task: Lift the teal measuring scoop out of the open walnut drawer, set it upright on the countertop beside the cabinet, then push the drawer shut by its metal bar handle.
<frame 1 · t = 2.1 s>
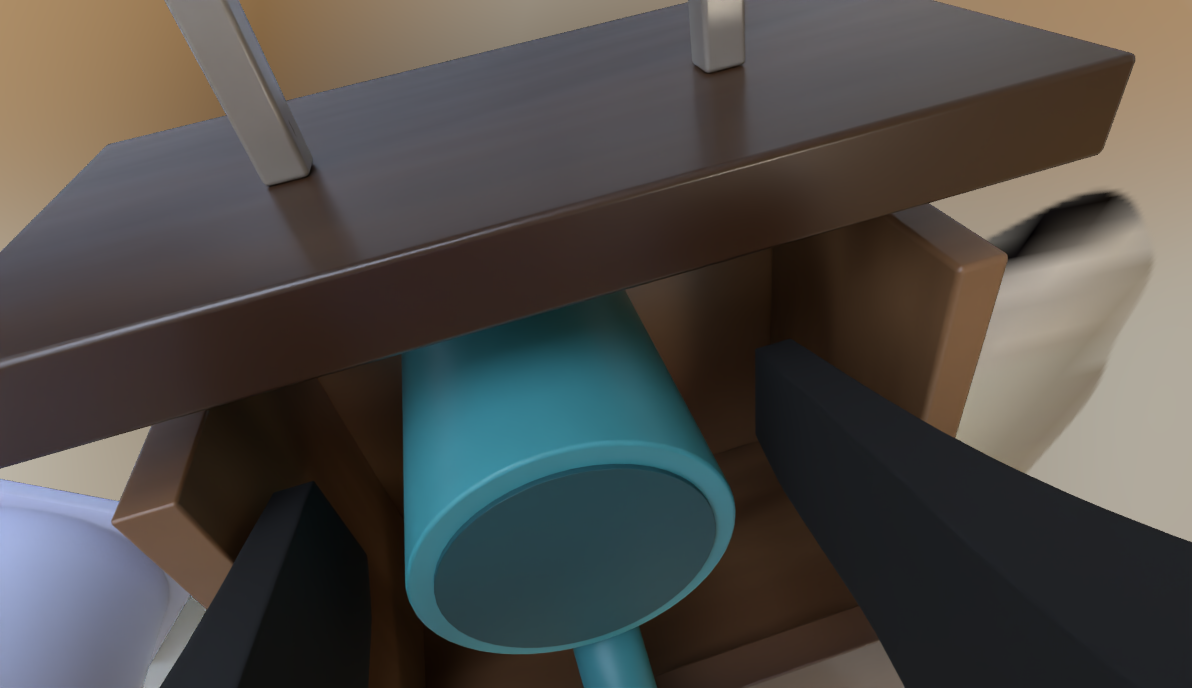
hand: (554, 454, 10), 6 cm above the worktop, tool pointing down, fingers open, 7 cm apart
drawer: (564, 336, 12), point 4 cm above the worktop, slide at 9.3 cm, touching gripper, scoop
scoop: (512, 305, 14), point 2 cm above the worktop, touching drawer
cabinet: (609, 541, 23), on the worktop
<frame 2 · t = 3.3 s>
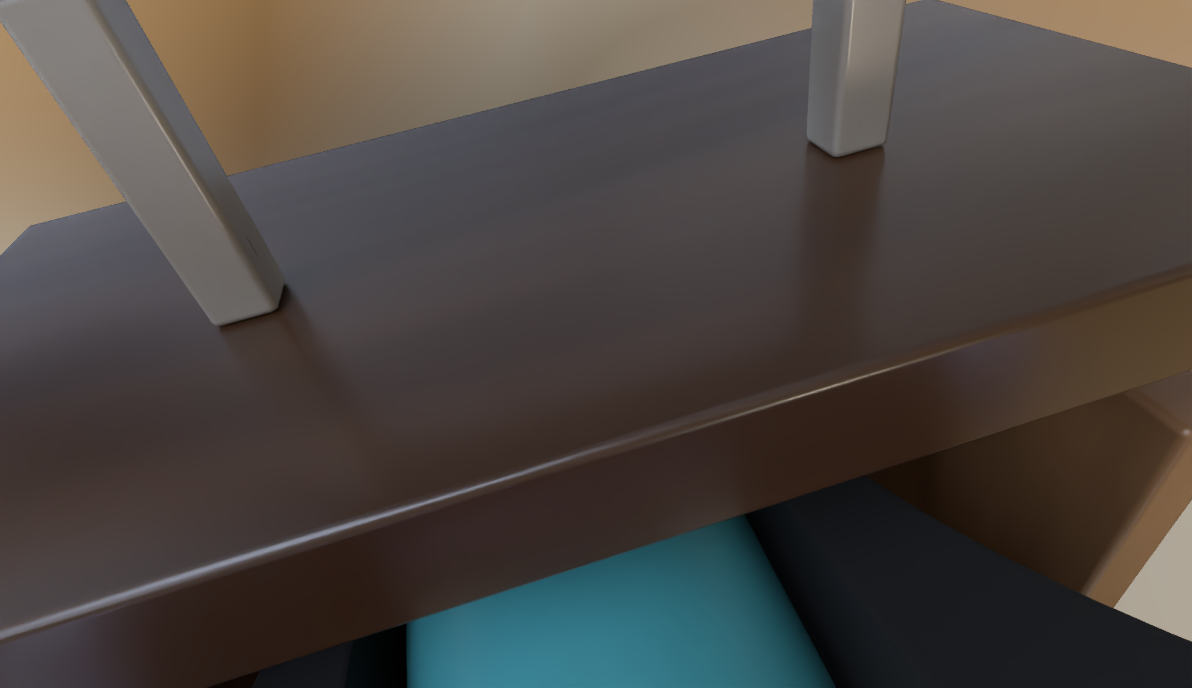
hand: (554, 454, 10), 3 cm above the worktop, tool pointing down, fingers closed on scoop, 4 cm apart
drawer: (612, 462, 9), point 4 cm above the worktop, slide at 9.3 cm, touching scoop
scoop: (538, 402, 11), point 2 cm above the worktop, touching drawer, gripper
when the fingers open (1 cm above the worktop, at t = 8.4 s): scoop stays where it is, on the worktop.
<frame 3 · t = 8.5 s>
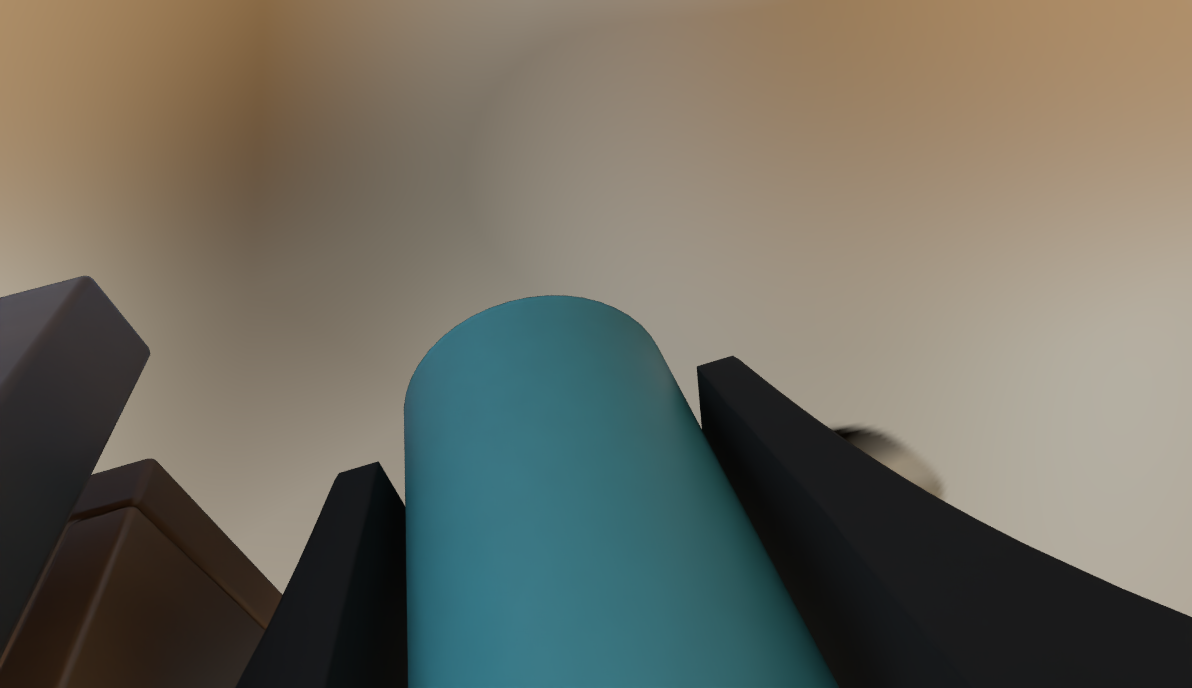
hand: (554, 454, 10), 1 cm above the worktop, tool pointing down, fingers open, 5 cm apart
scoop: (540, 404, 11), on the worktop
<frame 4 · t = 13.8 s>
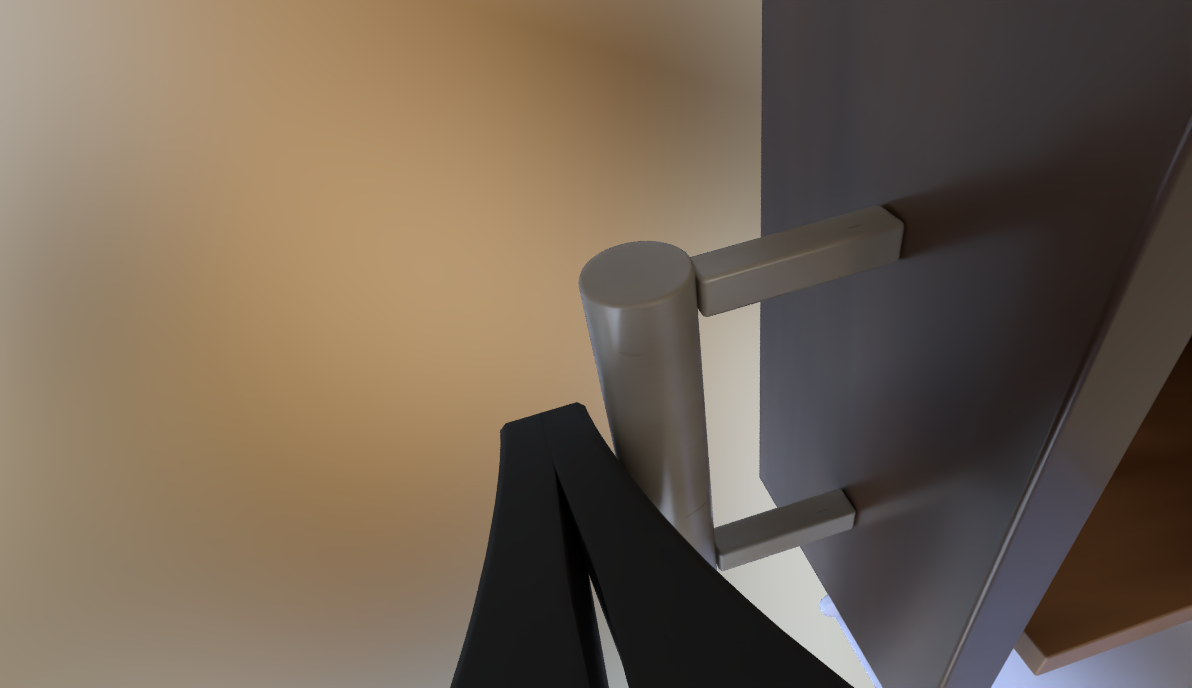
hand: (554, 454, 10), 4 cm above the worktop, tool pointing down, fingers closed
drawer: (1077, 309, 11), point 4 cm above the worktop, slide at 8.3 cm, touching gripper
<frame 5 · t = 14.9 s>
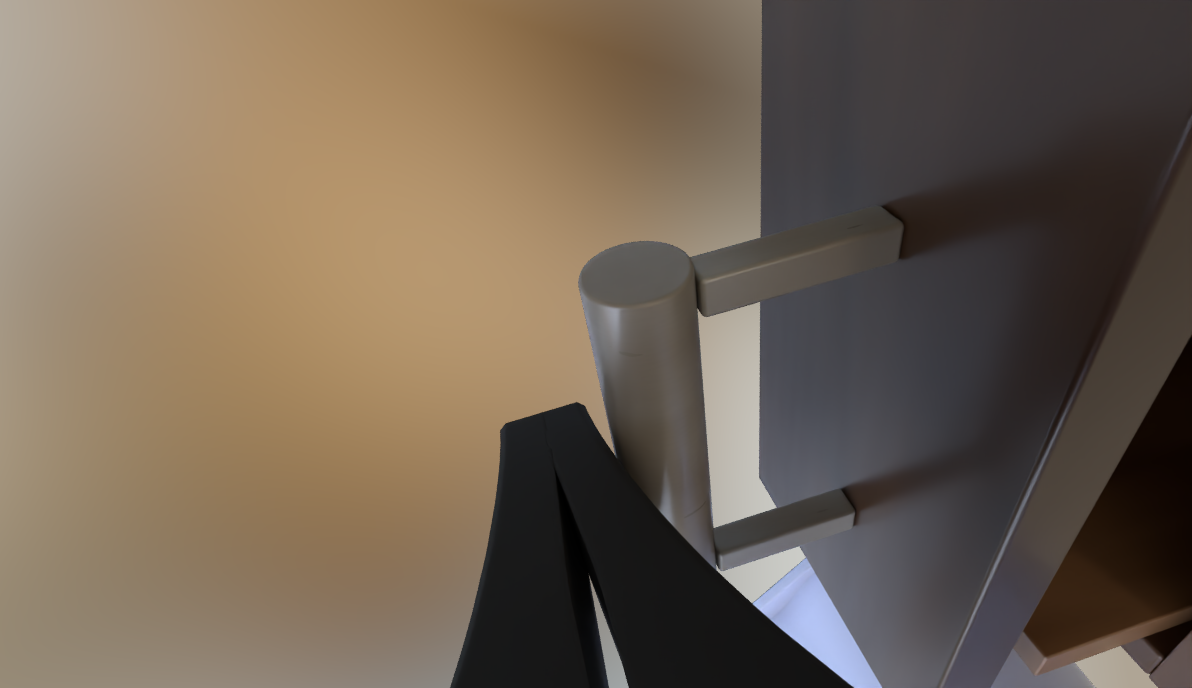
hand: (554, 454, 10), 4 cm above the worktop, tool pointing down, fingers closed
drawer: (1076, 309, 11), point 4 cm above the worktop, slide at 4.0 cm, touching gripper
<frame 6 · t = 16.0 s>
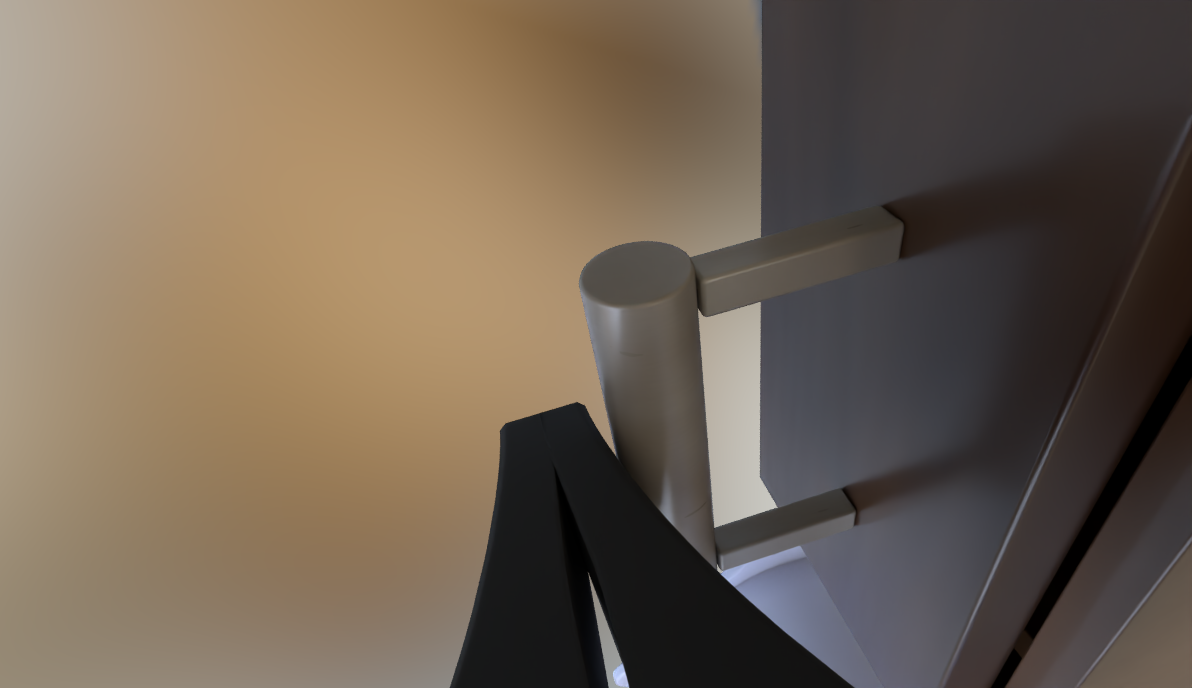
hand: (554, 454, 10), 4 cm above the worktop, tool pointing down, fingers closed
drawer: (1077, 309, 11), point 4 cm above the worktop, slide at 0.0 cm, touching gripper
cabinet: (1070, 159, 14), on the worktop
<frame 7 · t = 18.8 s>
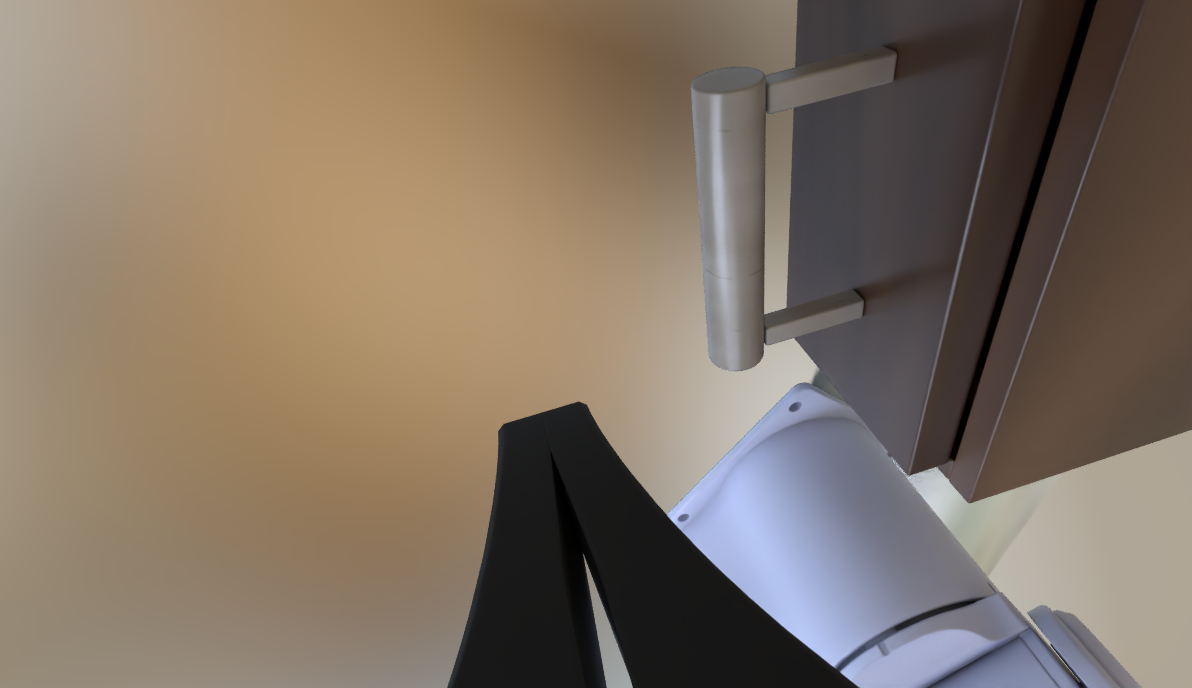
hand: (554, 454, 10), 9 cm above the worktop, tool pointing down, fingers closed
drawer: (1021, 146, 15), point 4 cm above the worktop, slide at 0.0 cm
cabinet: (1026, 63, 19), on the worktop
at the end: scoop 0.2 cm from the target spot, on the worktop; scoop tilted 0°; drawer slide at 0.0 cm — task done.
